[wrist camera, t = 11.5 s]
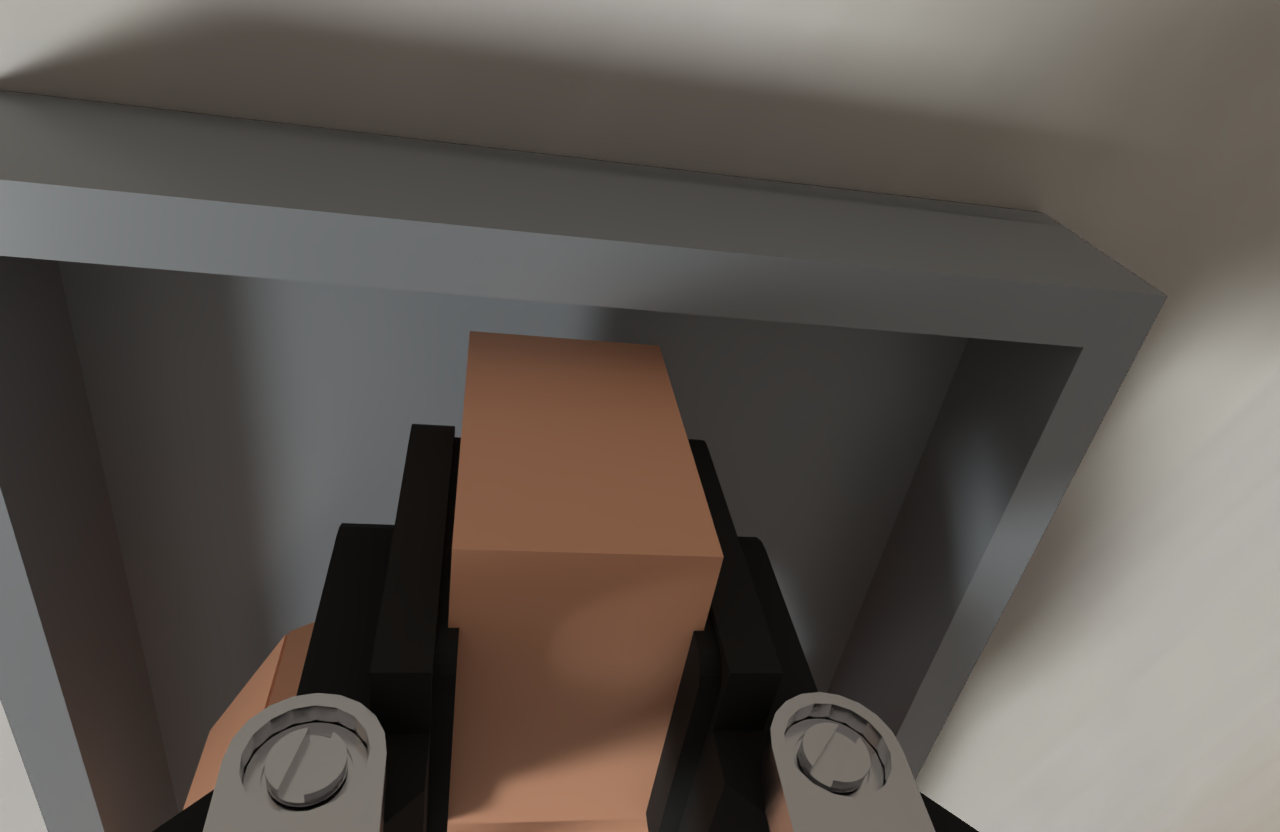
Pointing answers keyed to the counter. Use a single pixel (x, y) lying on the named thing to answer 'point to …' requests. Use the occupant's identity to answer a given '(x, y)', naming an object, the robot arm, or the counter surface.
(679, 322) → the gray rectangular frame
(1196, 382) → the counter surface
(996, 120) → the counter surface
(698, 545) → the ring
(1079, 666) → the counter surface
